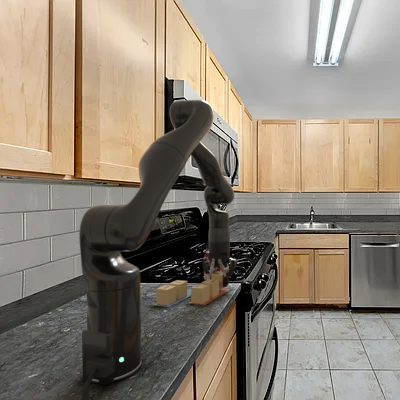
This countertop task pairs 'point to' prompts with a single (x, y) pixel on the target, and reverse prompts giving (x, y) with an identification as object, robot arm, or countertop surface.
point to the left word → (172, 293)
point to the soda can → (210, 266)
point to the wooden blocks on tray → (206, 292)
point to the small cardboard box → (218, 278)
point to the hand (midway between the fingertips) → (219, 286)
